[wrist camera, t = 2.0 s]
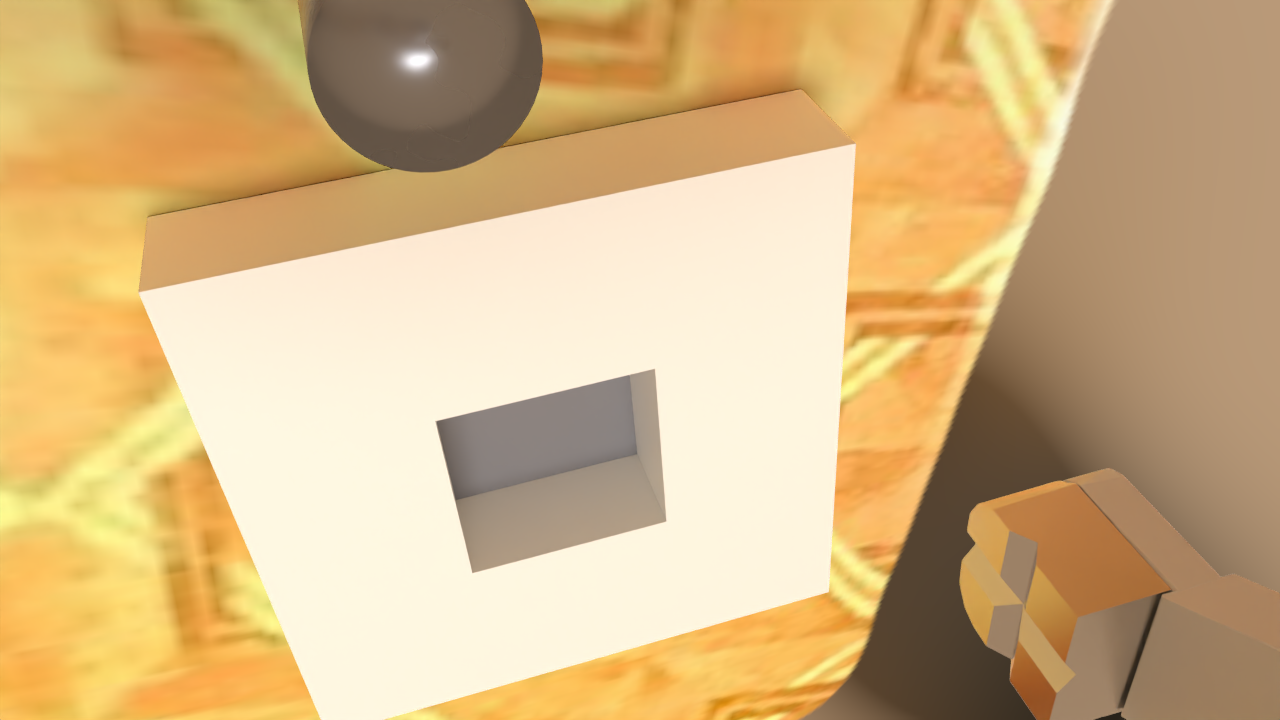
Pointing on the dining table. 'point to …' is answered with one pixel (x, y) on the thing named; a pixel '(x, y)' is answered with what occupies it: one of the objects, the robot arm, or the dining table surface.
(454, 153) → the steel peg
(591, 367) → the housing
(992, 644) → the robot arm
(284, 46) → the dining table surface
